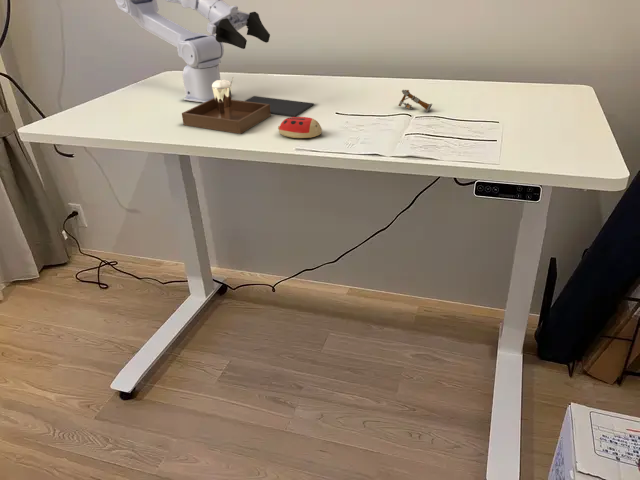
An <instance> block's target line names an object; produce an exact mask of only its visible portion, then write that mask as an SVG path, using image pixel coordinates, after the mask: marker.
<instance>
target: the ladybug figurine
mask: <svg viewBox="0 0 640 480" xmlns="http://www.w3.org/2000/svg"><path fill="white" fill-rule="evenodd" d="M277 130H278V133H279V134H280V135H281V136H283V137H286V138H292V139H311V138H315V137H318V136H320V135H321V134H322V133H323V129H322V126H321V124H320V123H319V122H318V120H316V119H314V118H312V117H308V116H307V117H306V116H296V117H292V116H289V117H287V118H285V119H284V120H282V122H281V123H280V125H278V126H277Z"/></svg>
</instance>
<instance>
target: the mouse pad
mask: <svg viewBox="0 0 640 480" xmlns="http://www.w3.org/2000/svg"><path fill="white" fill-rule="evenodd" d="M245 101H248V102H256V103H263V104H270V112H271V115H277V116H286V117H298V116H299V115H300V114H302V113H304V112H306V111H307V110H308V109H309V108H311V107H313V106H314V105H315V103H313V102H305V101H297V100H289V99H280V98H273V97H264V96H257V95H254V96H252V97H249V98H248V99H246V100H245Z"/></svg>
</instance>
